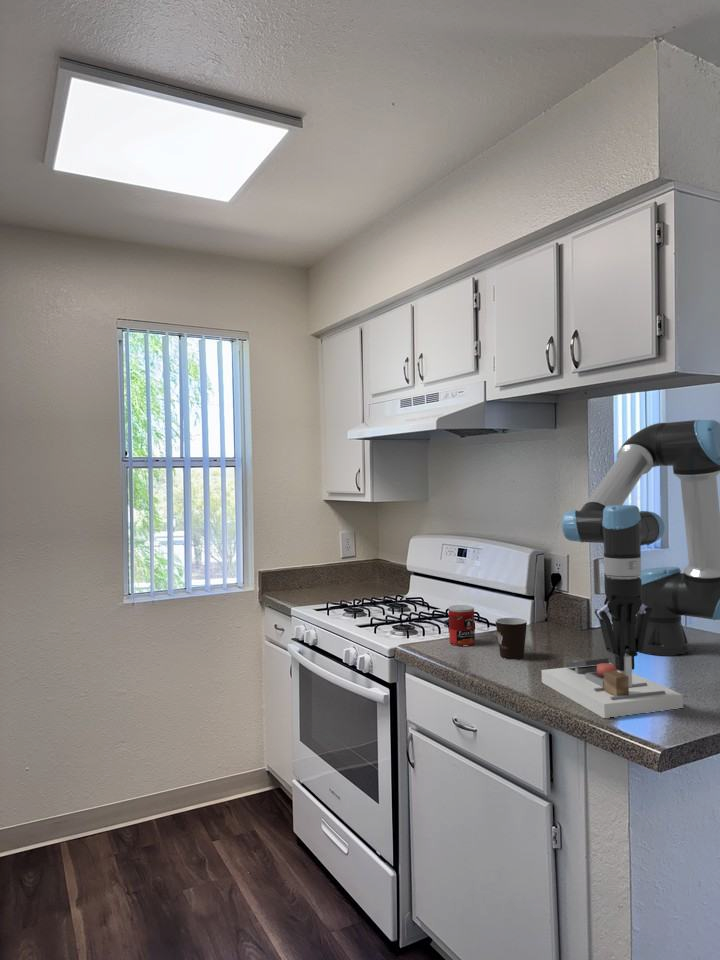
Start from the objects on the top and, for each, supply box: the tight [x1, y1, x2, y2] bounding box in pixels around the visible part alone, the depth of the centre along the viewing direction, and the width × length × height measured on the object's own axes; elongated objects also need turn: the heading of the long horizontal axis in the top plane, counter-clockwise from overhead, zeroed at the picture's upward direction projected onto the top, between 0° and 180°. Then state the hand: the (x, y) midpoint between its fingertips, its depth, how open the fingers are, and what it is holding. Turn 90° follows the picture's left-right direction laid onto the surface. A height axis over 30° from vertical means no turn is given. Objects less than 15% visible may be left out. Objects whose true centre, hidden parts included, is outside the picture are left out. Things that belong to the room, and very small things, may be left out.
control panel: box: [541, 662, 684, 719], centre depth 154 cm, size 19×26×4 cm
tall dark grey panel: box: [565, 658, 610, 668], centre depth 162 cm, size 6×9×1 cm, turn 14°
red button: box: [597, 662, 617, 677], centre depth 154 cm, size 4×4×2 cm
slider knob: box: [604, 671, 629, 696], centre depth 146 cm, size 3×4×4 cm
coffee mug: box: [495, 617, 528, 660], centre depth 190 cm, size 12×9×10 cm
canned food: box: [448, 604, 476, 646], centre depth 205 cm, size 8×8×11 cm
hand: (625, 684), depth 146 cm, fingers closed
